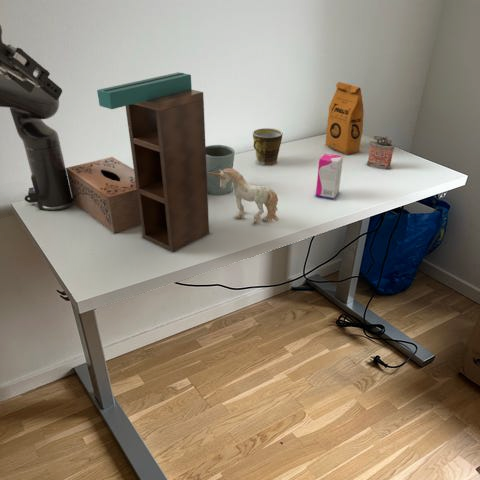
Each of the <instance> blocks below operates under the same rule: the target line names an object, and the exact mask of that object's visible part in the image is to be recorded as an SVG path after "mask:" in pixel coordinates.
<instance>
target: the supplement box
mask: <svg viewBox="0 0 480 480" xmlns="http://www.w3.org/2000/svg"><path fill="white" fill-rule="evenodd" d="M343 160H344V155H341V154H340V155H339V154H332V153H327V152H326V153H324V154H323V155H322V156H321V157H320V158H318V169H317V179H316V188H315V197H317V198H322V199H327V200H335V199H336V197H337V196H339V193H340V187H341V186H340V185H341V177H342V170H343V162H344V161H343Z"/></svg>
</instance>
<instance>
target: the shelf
mask: <svg viewBox="0 0 480 480" xmlns="http://www.w3.org/2000/svg"><path fill="white" fill-rule="evenodd" d="M125 113H126V120H127V128H128V135H129V144H130V150H131V157H132V158H131V159H132V165H133V169H134V174H135V181H136V189H137V196H138V204H139V211H140V219H141V225H140V226H141V233H142V239H144V240H146V241H148V242H150V243H152V244H154V245H156V246H159V247H160V248H162V249H164V250H167V251H169V252H171V253H174V252H177V251H178V250H180V249H182V248H184V247H186V246H188V245H190V244H192V243H194V242H196V241H198V240H200V239H202V238H204V237H205V236H207V235H209V234H210V222H209V220H210V219H209V197H208V194H209V193H207V170H206V146H207V145H206V123H205V99H204V91H201V90H195V89H191V90H187V91H183V92H179V93H175V94H171V95H167V96H163V97H159V98H155V99H151V100H147V101H143V102H139V103H135V104H131V105H127V106H125Z"/></svg>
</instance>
